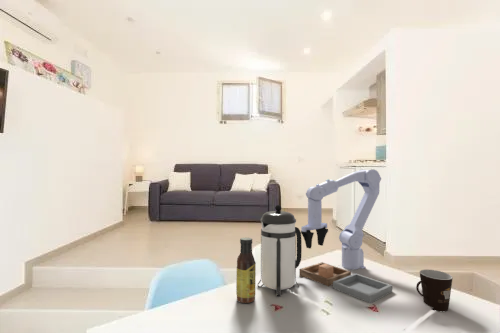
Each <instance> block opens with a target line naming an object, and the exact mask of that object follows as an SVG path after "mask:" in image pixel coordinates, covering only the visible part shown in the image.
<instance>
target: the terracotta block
mask: <svg viewBox="0 0 500 333" xmlns="http://www.w3.org/2000/svg"><path fill="white" fill-rule="evenodd" d="M327 264H328V263H326V264H323V265H319V275H320V276H322V277H325V278H331V277H333V266H334V265H332V266H330V265H331V264H329V265H327Z"/></svg>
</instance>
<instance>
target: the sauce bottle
mask: <svg viewBox="0 0 500 333" xmlns="http://www.w3.org/2000/svg"><path fill="white" fill-rule="evenodd" d="M239 243H240V252H239V255H238V256H237V259H236V285H235V286H236V289H235V292H236V300H237V302H239V303H241V304H250V303H253V302H254V301H255V300H256V263H257V262H256V260H255V257H254V254H253V248H252V246H253V238H251V237H240V240H239Z"/></svg>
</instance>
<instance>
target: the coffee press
mask: <svg viewBox="0 0 500 333" xmlns="http://www.w3.org/2000/svg"><path fill="white" fill-rule="evenodd" d="M274 208H275V210H271V211H266V212H265V213H264V214H262V216H261V218H260V223H261V229H260V236H261V279H260V280H259V281H258V283H257V288H258V289H261V288H263V286H265V287H266V288H268V289H271V290H276V297H281V295H282V293H281V291H282V290H288V289H291V288H292V287H294V288H295V285H297V286H298V287H300V286H299V283H298V282H297V279H296V278H297V271H296V270H297V268H299V266H300V263H301V261H302V234H301V230H300V228H299V227H296V223H297V218H295V215H294V214H293V213H291V212H288V211H285V210H284V211H282V206H281V205H280V204H276V205H275V206H274ZM260 283H262V284H261V285H260Z"/></svg>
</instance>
